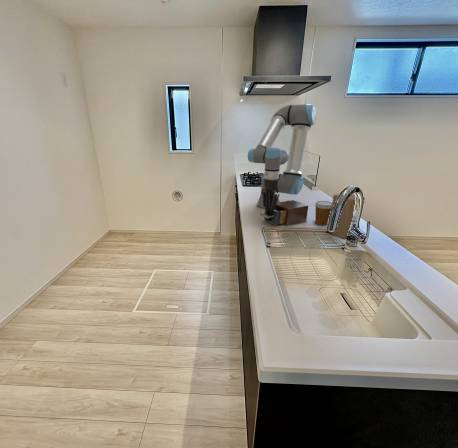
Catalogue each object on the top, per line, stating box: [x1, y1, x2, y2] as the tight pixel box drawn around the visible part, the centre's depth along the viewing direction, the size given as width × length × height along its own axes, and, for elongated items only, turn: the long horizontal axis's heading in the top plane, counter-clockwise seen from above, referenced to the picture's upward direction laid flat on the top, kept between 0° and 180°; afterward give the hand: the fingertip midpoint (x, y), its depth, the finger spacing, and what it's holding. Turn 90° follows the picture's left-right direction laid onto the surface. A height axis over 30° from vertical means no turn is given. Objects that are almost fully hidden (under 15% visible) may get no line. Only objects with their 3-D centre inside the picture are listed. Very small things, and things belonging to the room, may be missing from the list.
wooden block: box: [326, 193, 366, 239], centre depth 119 cm, size 10×10×20 cm
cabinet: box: [276, 199, 309, 226], centre depth 139 cm, size 15×13×10 cm
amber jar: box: [314, 200, 332, 226], centre depth 134 cm, size 10×10×12 cm
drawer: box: [259, 206, 287, 227], centre depth 135 cm, size 18×11×8 cm, turn 116°
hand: (268, 220), depth 134 cm, fingers closed
